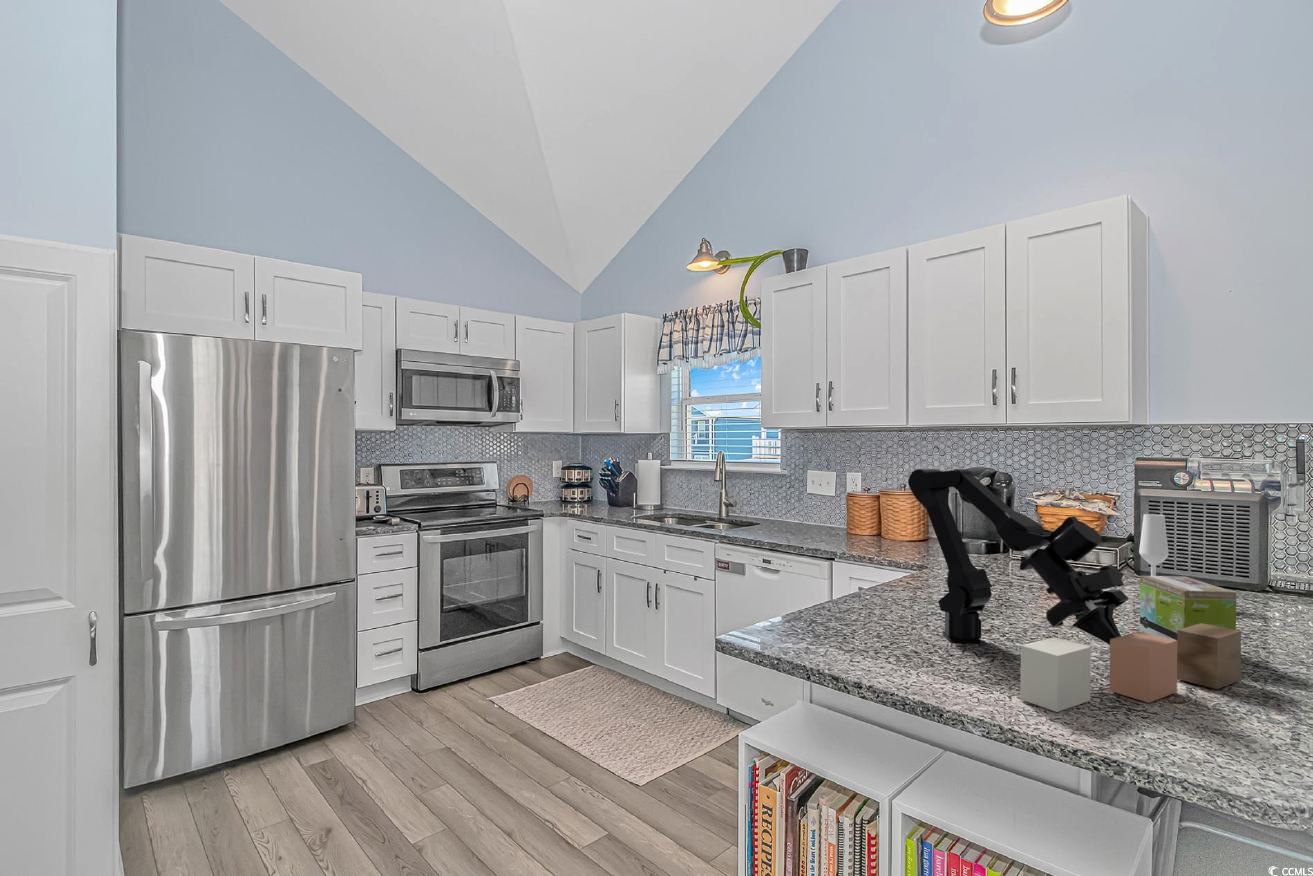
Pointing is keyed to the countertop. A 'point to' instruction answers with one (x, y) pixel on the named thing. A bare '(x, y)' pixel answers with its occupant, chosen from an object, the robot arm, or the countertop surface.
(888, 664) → the countertop surface
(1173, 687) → the terracotta block
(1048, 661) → the cream block
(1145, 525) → the champagne flute
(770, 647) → the countertop surface
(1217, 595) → the tea box
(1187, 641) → the walnut block
